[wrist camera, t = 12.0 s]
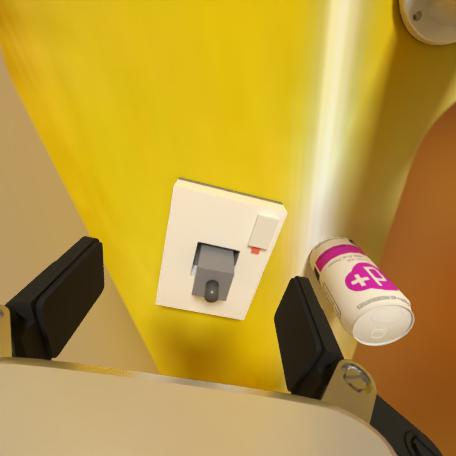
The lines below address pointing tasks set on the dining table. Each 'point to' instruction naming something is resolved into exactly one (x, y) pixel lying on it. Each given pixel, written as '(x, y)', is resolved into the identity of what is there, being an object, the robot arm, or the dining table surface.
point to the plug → (213, 273)
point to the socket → (220, 236)
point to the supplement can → (360, 293)
